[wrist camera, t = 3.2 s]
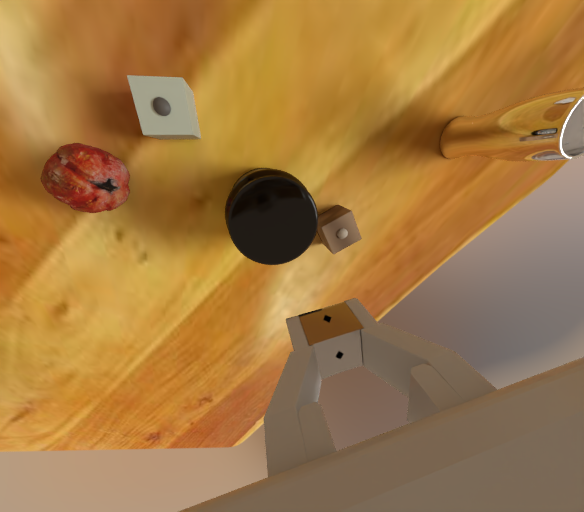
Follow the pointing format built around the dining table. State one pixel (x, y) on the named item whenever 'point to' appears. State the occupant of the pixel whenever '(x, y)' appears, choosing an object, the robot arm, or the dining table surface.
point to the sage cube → (165, 107)
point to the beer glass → (522, 130)
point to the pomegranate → (86, 178)
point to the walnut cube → (337, 228)
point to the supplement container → (271, 216)
